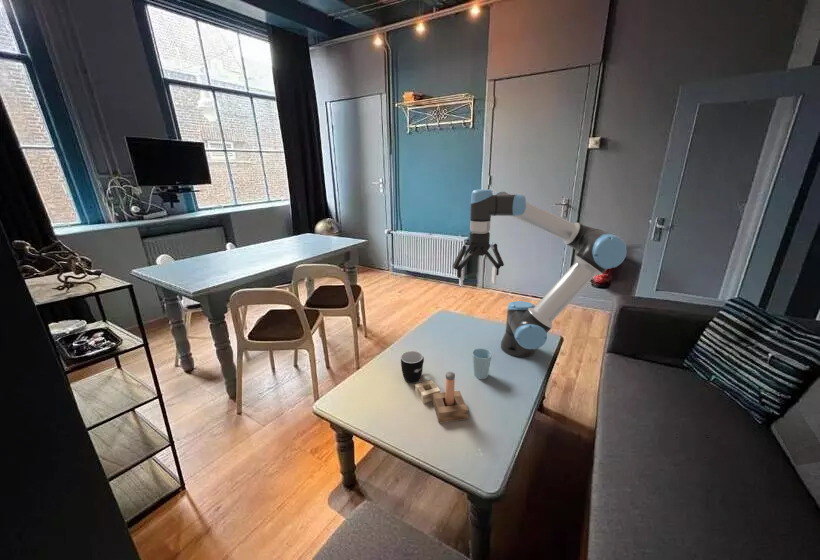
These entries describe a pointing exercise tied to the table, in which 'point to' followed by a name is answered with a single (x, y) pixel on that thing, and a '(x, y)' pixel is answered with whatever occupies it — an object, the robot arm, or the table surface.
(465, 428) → the table surface
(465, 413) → the brown wooden square frame
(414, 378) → the mug
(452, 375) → the dowel
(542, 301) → the robot arm
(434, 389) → the bead beech
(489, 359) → the cup
